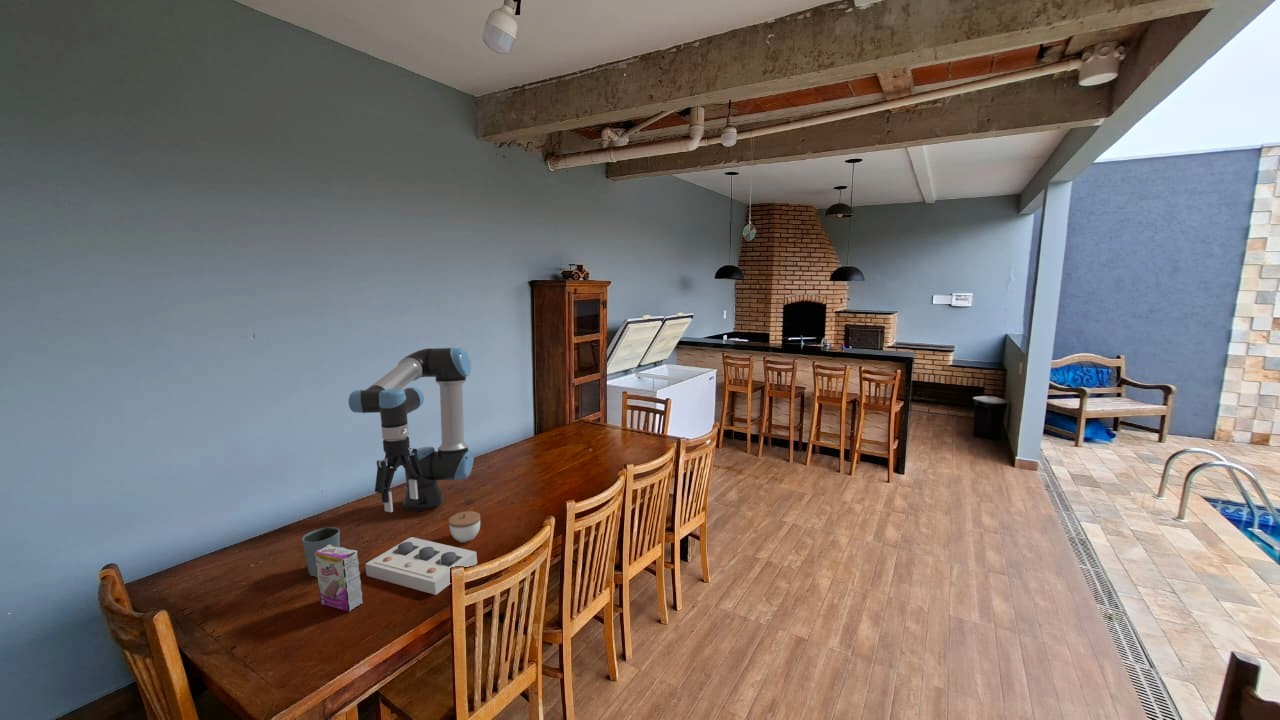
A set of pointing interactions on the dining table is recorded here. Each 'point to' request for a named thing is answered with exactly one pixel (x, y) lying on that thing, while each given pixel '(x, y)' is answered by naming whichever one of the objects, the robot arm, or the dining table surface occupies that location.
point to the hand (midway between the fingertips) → (401, 504)
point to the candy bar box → (338, 577)
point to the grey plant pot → (319, 544)
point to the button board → (418, 566)
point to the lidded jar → (464, 525)
